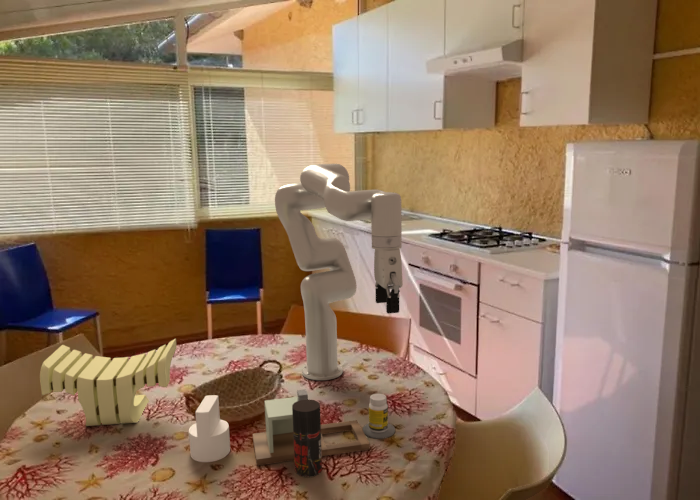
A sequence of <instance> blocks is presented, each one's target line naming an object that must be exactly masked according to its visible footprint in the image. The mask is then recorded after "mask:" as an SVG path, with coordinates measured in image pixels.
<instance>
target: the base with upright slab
mask: <svg viewBox="0 0 700 500" xmlns="http://www.w3.org/2000/svg"><path fill="white" fill-rule="evenodd" d="M188 437H189V438H188V439H189V450H190V457H191V458H192V460H194V461H196V462H199V463H211V462H216V461H219V460H222V459H224V458H226V456H228V455H229V454H230V452H231V441H230V440H231V439H230V437H231V436H230V426H229V423H228V422H227V421H226V420H224V419H221V416H220V402H219V395H215V394H213V395H212V394H211V395H205V396H204V398H203V399H202V401H201V403H200V404H199V406H198V407H197V408H196V410H195V423H193V424H192V425H190V427H189V429H188Z"/></svg>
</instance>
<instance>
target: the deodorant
mask: <svg viewBox="0 0 700 500" xmlns="http://www.w3.org/2000/svg"><path fill="white" fill-rule="evenodd" d="M292 414H293V438H294V460H293V461H294V472H295V474H296V475H298V476H299V477H304V478H312V477H315V476H317V475H319V474H321V472H322V471H323V459H322V457H323V456H322V451H321V425H322V423H321V422H322V421H321V403H320V402H319V401H317V400H314V399H308V400H300V401H297V402H295V403H294V404H293V405H292Z"/></svg>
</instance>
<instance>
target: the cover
mask: <svg viewBox="0 0 700 500" xmlns="http://www.w3.org/2000/svg"><path fill="white" fill-rule="evenodd" d="M296 393H297V395H296V396H292V397H285V398H284V397H283V398H275V399H267V400H264V419H265V420H264V421H265V432H266V436H267V441H268V446H269V451H270V453H274V451H273V435H276V434H284V433H291V432H293V414H292V405H293V404H294V403H295V402H297V401H300V400H309V394H308V392H307V389H297V391H296Z"/></svg>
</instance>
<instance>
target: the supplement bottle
mask: <svg viewBox="0 0 700 500" xmlns="http://www.w3.org/2000/svg"><path fill="white" fill-rule="evenodd" d="M368 423H369V429H370V430H371V431H372V432H375V433H382V432H385V431H386V430H387V429H388V423H389V406H388V403H387V396H386V395H385V394H383V393H373V394H371V395H370V397H369V404H368Z"/></svg>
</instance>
